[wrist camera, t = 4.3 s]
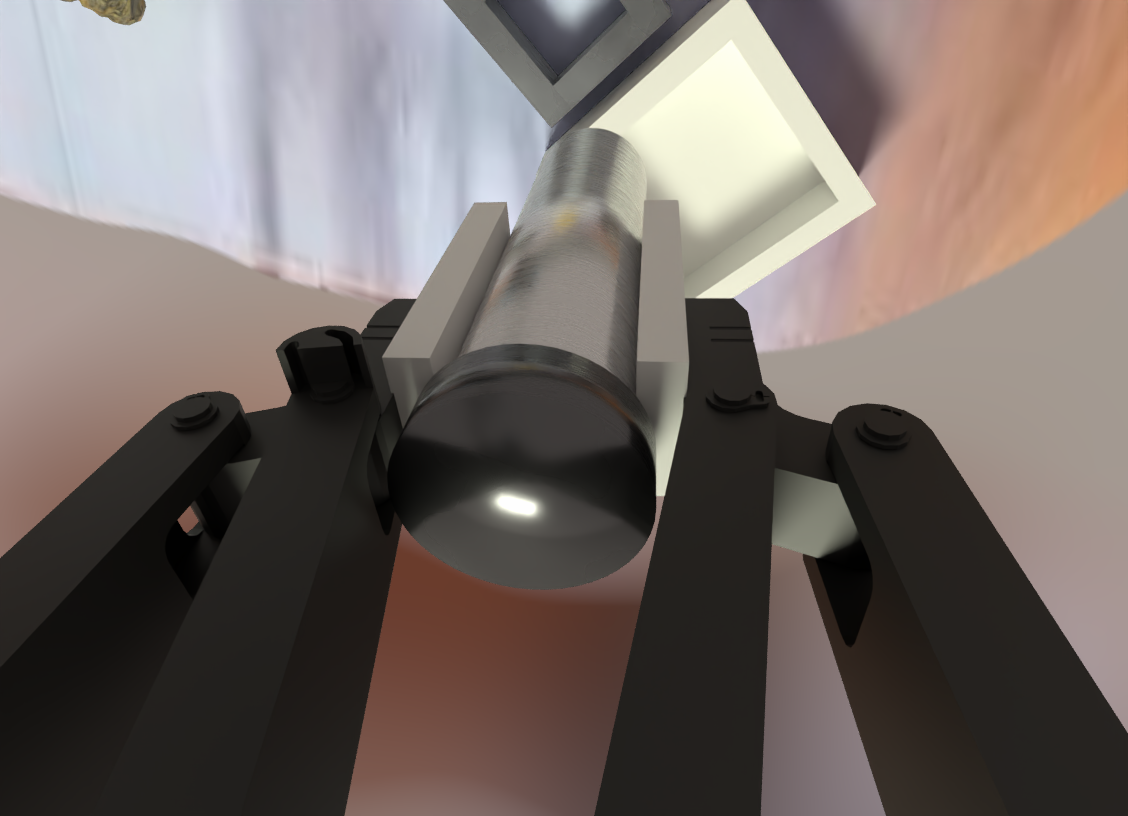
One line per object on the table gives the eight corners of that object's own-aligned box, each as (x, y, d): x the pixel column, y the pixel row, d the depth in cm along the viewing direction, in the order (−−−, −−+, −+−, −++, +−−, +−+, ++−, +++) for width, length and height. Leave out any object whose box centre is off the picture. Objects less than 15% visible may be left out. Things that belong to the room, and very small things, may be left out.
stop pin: (523, 119, 19) (357, 393, 8) (658, 114, 18) (659, 397, 8) (535, 245, 21) (416, 583, 11) (655, 243, 21) (654, 595, 10)
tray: (545, 151, 34) (536, 174, 32) (731, -19, 29) (740, -9, 26) (675, 302, 39) (677, 333, 36) (857, 178, 34) (876, 204, 31)
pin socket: (453, -7, 30) (442, -1, 29) (566, -141, 27) (561, -143, 25) (556, 116, 33) (551, 127, 32) (670, 8, 30) (671, 16, 28)
